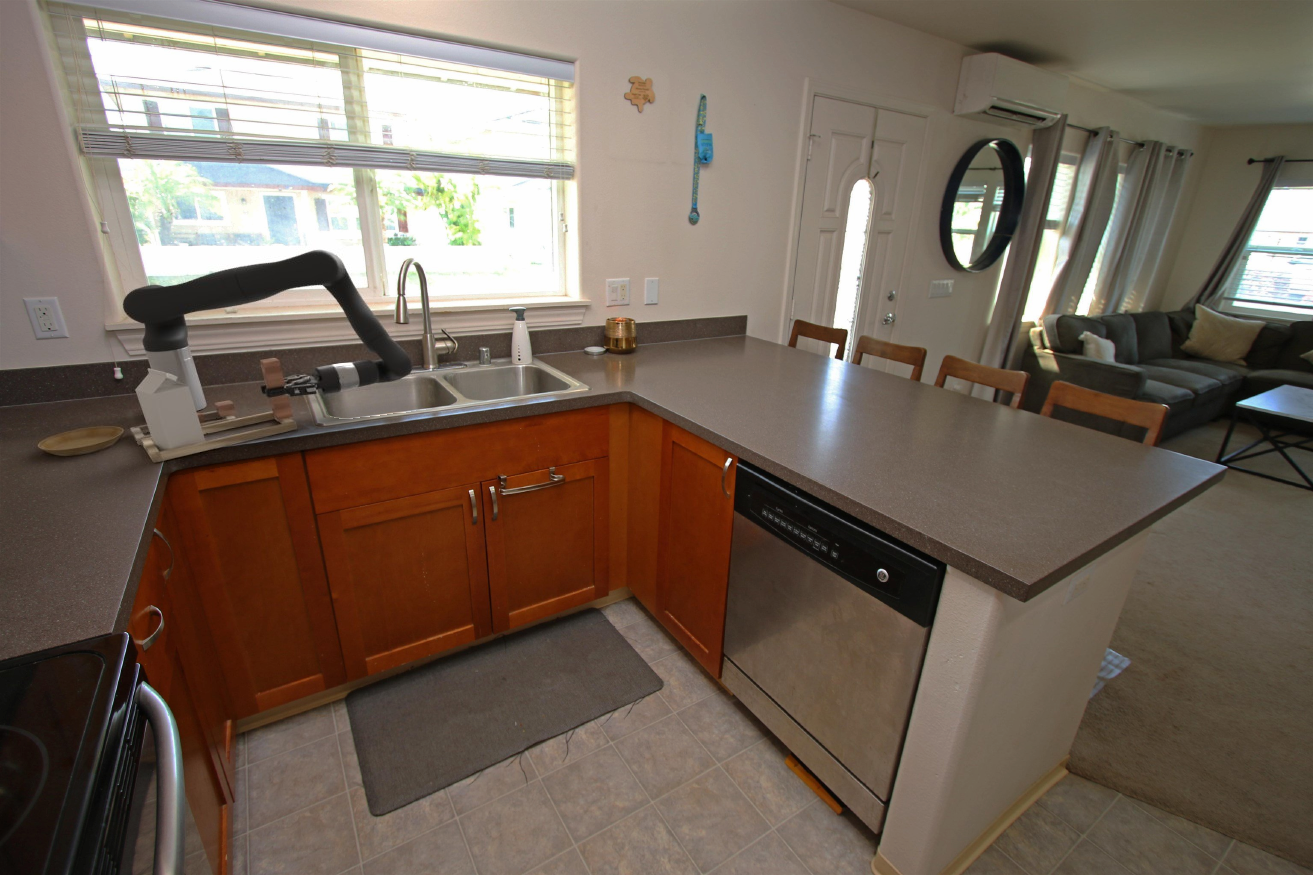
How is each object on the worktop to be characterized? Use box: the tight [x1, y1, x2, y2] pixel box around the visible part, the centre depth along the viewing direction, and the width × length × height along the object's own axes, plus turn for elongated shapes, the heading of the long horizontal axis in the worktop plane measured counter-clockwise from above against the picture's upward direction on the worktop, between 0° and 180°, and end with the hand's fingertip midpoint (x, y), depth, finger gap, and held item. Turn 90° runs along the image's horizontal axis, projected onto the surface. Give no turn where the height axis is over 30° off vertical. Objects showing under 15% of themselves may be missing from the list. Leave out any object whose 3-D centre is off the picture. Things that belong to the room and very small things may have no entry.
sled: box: [141, 357, 298, 464], centre depth 140 cm, size 13×30×17 cm, turn 137°
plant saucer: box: [37, 425, 124, 457], centre depth 137 cm, size 15×15×3 cm
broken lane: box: [129, 399, 237, 446], centre depth 147 cm, size 10×21×5 cm, turn 137°
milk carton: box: [134, 368, 206, 452], centre depth 133 cm, size 7×7×19 cm
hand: (264, 391), depth 146 cm, fingers closed on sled, 3 cm apart
